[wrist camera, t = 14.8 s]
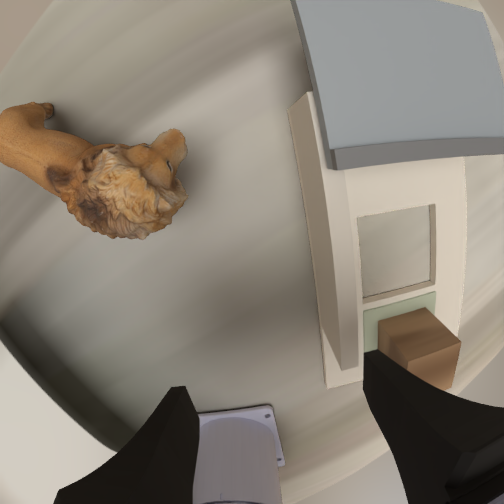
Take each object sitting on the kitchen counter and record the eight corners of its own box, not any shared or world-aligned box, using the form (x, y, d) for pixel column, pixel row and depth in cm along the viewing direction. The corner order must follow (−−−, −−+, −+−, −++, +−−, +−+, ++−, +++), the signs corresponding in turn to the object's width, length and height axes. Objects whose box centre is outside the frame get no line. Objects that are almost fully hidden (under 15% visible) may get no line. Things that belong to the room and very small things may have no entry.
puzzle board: (450, 343, 23) (484, 380, 18) (324, 382, 23) (342, 434, 18) (449, 101, 17) (502, 93, 11) (286, 110, 17) (307, 92, 12)
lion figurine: (217, 144, 18) (197, 133, 9) (190, 227, 19) (152, 286, 11) (27, 97, 16) (-63, 86, 7) (10, 168, 17) (-80, 187, 9)
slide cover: (503, 151, 12) (520, 153, 11) (327, 168, 12) (337, 170, 11) (474, 16, 10) (488, 9, 8) (289, -3, 10) (294, -18, 9)
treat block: (421, 349, 22) (451, 387, 17) (376, 363, 22) (401, 406, 17) (425, 307, 20) (461, 341, 16) (377, 320, 20) (408, 361, 16)
